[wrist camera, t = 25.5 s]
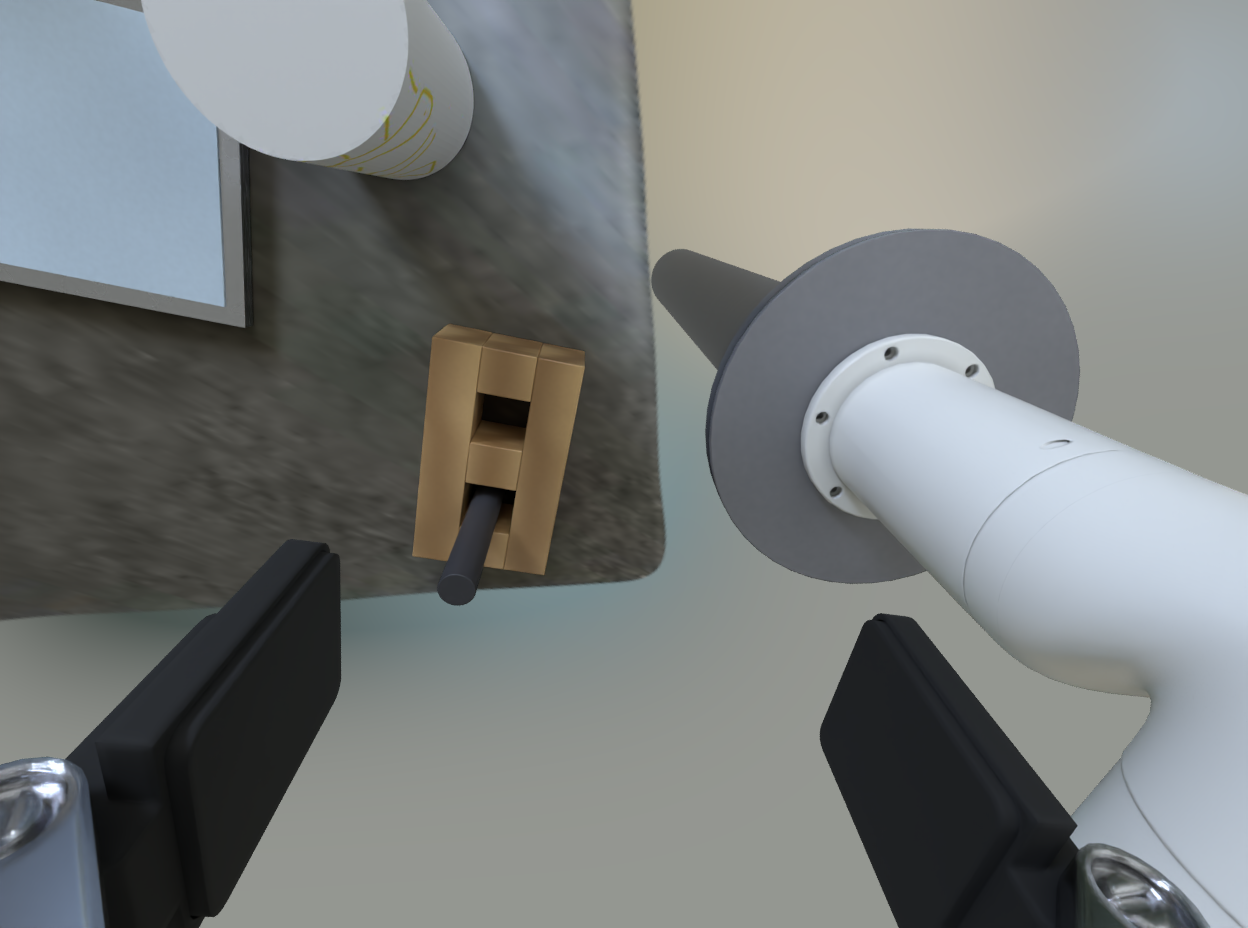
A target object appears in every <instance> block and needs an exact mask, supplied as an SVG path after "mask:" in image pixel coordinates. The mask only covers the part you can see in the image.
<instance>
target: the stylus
mask: <svg viewBox="0 0 1248 928" xmlns="http://www.w3.org/2000/svg"><path fill="white" fill-rule="evenodd" d="M505 490H506V489H501V488H495V487H489V486H483V485H478V486H477V488H476V491H475V493H474V496H473V498H472V501H471V503H470V506H469V508H468V511H467V513H466V516H465V518H464V521H463V523H462V526H461V528H460V531H459V533H458V536H457V538H456V541H455V543H454V546H453V548H452V551H451V553H450V556H449V558H448V561H447V563H446V566H445V568H444V571H443V573H442V576H441V578H440V581H439V583H438V587H437V590H438V594H439V596H440V597H441V599H443V600H444V601H445V602H447V603H449V604H451V605H464V604H467V603H468V602H470V601H471V600H472V599H473V598H474V596H475V593H476V590H477V587H478V584H479V580H480V577H481V573H482V570H483V566H484V563H485V560H486V556H487V553H488V549H489V546H490V542H491V539H492V536H493V532H494V529H495V525H496V522H497V518H498V515H499V512H500V508H501V505H502V501H503V498H504V494H505Z"/></svg>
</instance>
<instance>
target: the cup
mask: <svg viewBox="0 0 1248 928" xmlns="http://www.w3.org/2000/svg"><path fill="white" fill-rule="evenodd" d="M141 2H142V7H143V11H144V15H145V19H146V22H147V25H148V28H149V31H150V34H151V37H152V39H153V42H154V44H155V46H156V48H157V51H158V53H159V55H160V57H161V59H162V61H163V63H164V64H165V66H166V68H167V70H168V71H169V73H170V75H171V76H172V78H173V79H174V81H175V82H176V84H177V85H178V86H179V88H180V89H181V90H182V92H183V93H184V94H185V96H186V97H187V98H188V99H189V100H190V101H191V103H192V104H193V105H194V106H195V107H196V108H197V109H198V110H199V111H200V112H201V113H202V114H203V115H204V116H205V117H206V118H207V119H208V120H209V121H211V122H212V123H213V124H214V125H215V126H217V127H218V128H219V129H220V130H222V131H223V132H225V133H226V134H227V135H229V136H230V137H232V138H234V139H235V140H237V141H238V142H240V143H242V144H244V145H246V146H248V147H250V148H252V149H254V150H257V151H259V152H262V153H264V154H267V155H270V156H274V157H278V158H283V159H288V160H293V161H298V162H304V163H309V164H315V165H320V166H326V167H331V168H336V169H342V170H347V171H353V172H358V173H363V174H369V175H374V176H380V177H385V178H390V179H397V180H412V179H419V178H423V177H426V176H429V175H431V174H433V173H435V172H437V171H439V170H440V169H442V168H443V167H445V166H446V165H447V164H448V163H449V162H450V161H451V160H452V159H453V158H454V157H455V156H456V155H457V153H458V152H459V151H460V149H461V147H462V146H463V144H464V142H465V140H466V138H467V135H468V133H469V130H470V126H471V122H472V116H473V107H474V96H473V86H472V80H471V75H470V72H469V68H468V65H467V62H466V60H465V57H464V55H463V53H462V51H461V49H460V47H459V45H458V43H457V42H456V40H455V39H454V37H453V36H452V34H451V33H450V31H449V30H448V29H447V27H446V26H445V25H444V23H443V22H442V21H441V19H440V18H439V17H438V15H437V14H436V13H435V11H434V10H433V9H432V7H431V6H430V5H429V3H428V2H427V0H141Z"/></svg>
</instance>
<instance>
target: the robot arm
mask: <svg viewBox="0 0 1248 928" xmlns="http://www.w3.org/2000/svg"><path fill="white" fill-rule="evenodd" d="M887 349H888V352H887V353H886V354H885V351H886V350H887ZM819 413H821V415H820V416H819V417H818V418H816V417H817V415H818V414H819ZM801 454H802V459H803V464H804V467H805V470H806V472H807V474H808V476H809V478H810V480H811V482H812V483H813V484H814V486H815V487H816V488H817V490H818V491H819V492H820V493H821V494H822V495H823V497H824V498H825V499H826V500H827V501H828V502H829V503H831V504H833V505H834V506H836V507H837V508H839V509H840V510H842V511H844V512H846V513H849V514H852V515H854V516H857V517H862V518H868V519H878V520H879V521H880V522H881V523H882V524H883V525H884V526H885V527H886V528H887V529H888V530H889V531H890V532H891V533H892V534H893V535H894V536H895V538H896V539H897V540H898V541H899V542H900V543H901V544H902V545H903V546H904V547H905V548H906V549H907V550H908V551H909V552H910V553H911V554H912V555H913V556H914V558H915V559H916V560H917V561H918V562H919V563H920V564H921V565H922V566H923V567H924V568H925V569H926V570H927V571H928V572H929V573H930V574H931V575H932V576H933V577H934V578H935V580H936V581H937V582H938V583H939V584H940V585H941V586H942V587H943V588H944V589H945V590H946V591H947V592H948V593H949V594H950V595H951V596H952V597H953V599H954V600H955V601H956V602H957V603H958V604H959V605H960V606H961V607H962V608H963V609H964V610H965V611H966V612H967V613H968V614H969V615H970V616H971V617H972V618H973V619H974V620H975V621H976V622H977V623H978V624H979V625H980V626H981V627H982V628H983V629H984V630H985V631H986V632H987V633H988V634H989V636H990V637H991V638H993V640H994V641H995V642H996V643H997V644H998V645H1000V646H1001V647H1002V648H1003V649H1004V650H1005V651H1006V652H1008V653H1009V654H1010V655H1011V656H1012V657H1013V658H1015V659H1016V660H1018V661H1019V662H1021V663H1022V664H1023V665H1025V666H1027V667H1028V668H1030V669H1032V670H1034V671H1036V672H1038V673H1040V674H1042V675H1044V676H1046V677H1048V678H1050V679H1053V680H1055V681H1058V682H1062V683H1065V684H1068V685H1071V686H1075V687H1079V688H1083V689H1087V690H1093V691H1099V692H1105V693H1111V694H1119V695H1129V696H1140V697H1150V699H1151V707H1150V713H1149V715H1148V717H1147V720H1146V722H1145V723H1144V725H1143V726H1142V728H1141V729H1140V730H1139V732H1138V733H1137V734H1136V736H1135V737H1134V739H1133V740H1132V741H1131V742H1130V744H1129V745H1128V746H1127V747H1126V748H1125V750H1124V751H1123V753H1122V756H1121V758H1120V759H1119V761H1118V762H1117V763H1116V764H1115V765H1114V766H1113V767H1112V769H1111V770H1110V771H1109V772H1108V773H1107V774H1106V776H1105V777H1104V778H1103V779H1102V780H1101V781H1100V783H1099V784H1098V785H1097V786H1096V787H1095V788H1094V790H1093V791H1092V792H1091V793H1090V794H1089V796H1088V797H1087V798H1086V799H1085V800H1084V801H1083V802H1082V804H1081V805H1080V806H1079V807H1078V808H1077V810H1076V811H1075V812H1074V813H1073V814H1072V815H1071V816H1070V815H1069V814H1068V813H1067V812H1066V810H1065V809H1064V808H1063V806H1062V805H1061V804H1060V803H1059V801H1058V800H1057V799H1056V797H1054V795H1053V794H1052V793H1051V791H1050V790H1049V789H1048V788H1047V786H1046V785H1045V784H1044V782H1043V781H1042V780H1041V779H1040V777H1039V776H1038V775H1037V774H1036V772H1035V771H1034V770H1033V769H1032V767H1031V766H1030V765H1029V763H1027V761H1026V760H1025V759H1024V757H1023V756H1022V755H1021V754H1020V752H1019V751H1018V750H1017V748H1016V747H1015V746H1014V745H1013V743H1012V742H1011V741H1010V740H1009V738H1008V737H1007V736H1006V734H1005V733H1004V732H1003V731H1002V729H1001V728H1000V727H999V726H998V724H996V722H995V721H994V720H993V718H992V717H991V716H990V714H989V713H988V712H987V711H986V710H985V708H984V707H983V705H982V704H981V703H980V702H979V700H978V699H977V698H976V697H975V695H974V694H973V693H972V692H971V690H970V689H969V688H968V687H967V685H966V684H965V683H964V682H963V680H962V679H961V678H960V677H959V675H958V674H957V673H956V671H955V670H954V669H953V668H952V666H951V665H950V664H949V663H948V662H947V660H946V659H945V658H944V656H943V655H942V654H941V653H940V651H939V650H938V649H937V648H936V646H935V645H934V644H933V642H932V641H931V640H930V639H929V637H928V636H927V635H926V634H925V632H924V631H923V630H922V629H921V627H920V626H919V625H918V624H917V622H916V621H915V620H914V619H912V618H910V617H906V616H898V615H890V614H882V613H880V614H877V615H876V616H874V617H873V619H872V620H868V621H866V622H865V623H864V625H863V627H862V629H861V632H860V634H859V636H858V639H857V641H856V644H855V646H854V649H853V651H852V653H851V656H850V658H849V660H848V663H847V665H846V668H845V670H844V672H843V675H842V677H841V680H840V682H839V684H838V687H837V689H836V692H835V694H834V696H833V699H832V701H831V703H830V706H829V708H828V711H827V713H826V715H825V718H824V720H823V723H822V725H821V729H820V742H821V746H822V749H823V752H824V754H825V756H826V759H827V761H828V763H829V766H830V768H831V770H832V773H833V775H834V777H835V780H836V782H837V784H838V787H839V789H840V791H841V794H842V796H843V798H844V801H845V803H846V805H847V808H848V810H849V812H850V814H851V817H852V819H853V822H854V824H855V826H856V829H857V831H858V834H859V836H860V838H861V841H862V843H863V845H864V847H865V850H866V852H867V854H868V857H869V859H870V862H871V864H872V866H873V869H874V871H875V873H876V876H877V878H878V880H879V883H880V885H881V887H882V890H883V892H884V894H885V897H886V899H887V901H888V904H889V906H890V908H891V911H892V913H893V915H894V918H895V920H896V922H897V925H898V927H899V928H1248V495H1246V494H1244V493H1241V492H1239V491H1236V490H1234V489H1231V488H1229V487H1226V486H1224V485H1221V484H1218V483H1216V482H1213V481H1211V480H1208V479H1206V478H1204V477H1201V476H1199V475H1196V474H1194V473H1192V472H1189V471H1187V470H1184V469H1182V468H1180V467H1177V466H1175V465H1173V464H1170V463H1168V462H1166V461H1163V460H1161V459H1159V458H1156V457H1154V456H1151V455H1148V454H1146V453H1144V452H1141V451H1139V450H1137V449H1134V448H1132V447H1130V446H1127V445H1125V444H1123V443H1120V442H1118V441H1116V440H1113V439H1111V438H1109V437H1106V436H1104V435H1102V434H1099V433H1097V432H1095V431H1092V430H1090V429H1088V428H1085V427H1083V426H1081V425H1078V424H1076V423H1074V422H1071V421H1069V420H1067V419H1064V418H1062V417H1060V416H1057V415H1055V414H1053V413H1050V412H1048V411H1046V410H1043V409H1041V408H1038V407H1036V406H1034V405H1031V404H1029V403H1027V402H1024V401H1022V400H1020V399H1017V398H1015V397H1013V396H1010V395H1008V394H1006V393H1003V392H1001V391H999V390H996V389H995V386H994V383H993V379H992V377H991V376H990V374H989V372H988V370H987V368H986V367H985V365H984V364H983V363H982V362H981V361H980V360H979V359H978V358H977V357H976V355H975V354H974V353H972V352H971V351H969V350H968V349H966V348H965V347H963V346H961V345H960V344H958V343H955V342H953V341H950V340H948V339H945V338H942V337H937V336H933V335H928V334H902V335H896V336H891V337H886V338H884V339H881V340H878V341H876V342H873V343H870V344H868V345H866V346H864V347H863V348H861V349H859V350H858V351H856V352H854V353H852V354H851V355H849V356H848V357H847V358H846V359H845V360H843V361H842V362H841V363H840V364H838V365H837V366H836V367H835V368H834V369H833V370H832V371H831V372H830V374H829V375H828V376H827V377H826V378H825V379H824V380H823V381H822V383H821V384H820V386H819V388H818V389H817V391H816V392H815V394H814V396H813V397H812V399H811V401H810V404H809V406H808V409H807V411H806V413H805V416H804V420H803V425H802V430H801ZM832 488H833V489H832ZM340 682H341V612H340V558H339V555H338V554H335V553H330V549H329V546H328V545H327V544H326V543H318V542H310V541H302V540H294V539H290V540H287V541H286V542H285V543H284V544H283V545H282V546H281V547H280V548H279V549H278V550H277V551H276V552H275V553H274V554H273V555H272V556H271V557H270V558H269V559H268V560H267V562H266V563H265V564H264V565H263V566H262V567H261V568H260V569H259V570H258V571H257V572H256V573H255V574H254V575H253V576H252V577H251V578H250V579H249V580H248V581H247V582H246V584H245V585H244V586H243V587H242V588H241V589H240V590H239V591H238V592H237V593H236V594H235V595H234V596H233V597H232V598H231V599H230V600H229V601H228V602H227V603H226V605H225V606H224V607H223V608H222V609H221V610H220V611H219V612H218V613H217V614H212V615H209V616H206V617H205V618H204V619H203V620H201V621H200V622H199V623H198V624H197V625H196V626H195V627H194V628H193V629H192V630H191V631H190V632H189V633H188V634H187V635H186V636H185V637H184V638H183V639H182V640H181V641H180V642H179V643H178V644H177V645H176V646H175V647H174V648H173V649H172V651H171V652H169V654H168V655H167V656H166V657H165V658H164V659H163V660H162V661H161V662H160V663H159V664H158V665H157V666H156V667H155V668H154V669H153V670H152V671H151V672H150V673H149V674H148V675H147V676H146V677H145V678H144V679H143V680H142V681H141V682H140V683H139V684H138V685H137V686H136V687H135V688H134V689H133V690H132V691H131V692H130V693H129V695H127V697H126V698H125V699H124V700H123V701H122V702H121V703H120V704H119V705H118V706H117V707H116V708H115V709H114V710H113V711H112V712H111V713H110V714H109V715H108V716H107V717H106V718H105V719H104V720H103V721H102V722H101V723H100V724H99V725H98V726H97V727H96V728H95V729H94V730H93V731H92V732H91V733H90V734H89V735H88V737H86V738H85V739H84V741H83V742H82V743H81V744H80V745H79V746H78V747H77V748H76V749H75V750H74V751H73V752H72V753H71V754H70V755H69V756H68V757H67V758H66V759H65V760H64V759H58V758H52V757H40V758H28V759H20V760H17V761H13V762H9V763H5V764H1V765H0V928H199V926H200V925H201V923H202V921H203V919H204V917H215V916H216V915H218V913H219V912H220V911H221V910H222V909H223V907H224V905H225V904H226V902H227V900H228V899H229V897H230V895H231V893H232V891H233V889H234V887H235V885H236V884H237V882H238V880H239V878H240V876H241V874H242V873H243V871H244V869H245V867H246V865H247V863H248V861H249V859H250V858H251V856H252V854H253V852H254V850H255V848H256V846H257V845H258V843H259V841H260V839H261V837H262V835H263V833H264V832H265V830H266V828H267V826H268V824H269V822H270V820H271V819H272V817H273V815H274V813H275V811H276V809H277V807H278V805H279V804H280V802H281V800H282V798H283V796H284V794H285V793H286V791H287V789H288V787H289V785H290V783H291V781H292V780H293V778H294V776H295V774H296V772H297V770H298V768H299V767H300V765H301V763H302V761H303V759H304V757H305V755H306V753H307V752H308V750H309V748H310V746H311V744H312V742H313V740H314V739H315V737H316V735H317V733H318V731H319V729H320V727H321V726H322V724H323V722H324V720H325V718H326V716H327V714H328V713H329V710H330V709H331V707H332V705H333V703H334V701H335V699H336V697H337V694H338V691H339V687H340Z"/></svg>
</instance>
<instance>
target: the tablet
mask: <svg viewBox="0 0 1248 928" xmlns="http://www.w3.org/2000/svg"><path fill="white" fill-rule="evenodd" d="M0 281H4V282H9V283H15V284H20V285H25V286H30V287H35V288H40V289H46V290H51V291H56V292H61V293H66V294H72V295H77V296H82V297H87V298H92V299H97V300H103V301H108V302H113V303H118V304H123V305H129V306H134V307H139V308H144V309H149V310H154V311H160V312H165V313H170V314H175V315H180V316H185V317H191V318H196V319H201V320H206V321H211V322H217V323H222V324H227V325H232V326H237V327H242V328H246V327H249V326H252V325H253V300H252V264H251V227H250V191H249V155H248V146H246V145H244V144H242V143H240V142H238V141H237V140H235V139H234V138H232V137H230V136H229V135H227V134H226V133H225V132H223V131H222V130H220V129H219V128H218V127H217V126H215V125H214V124H213V123H212V122H211V121H209V120H208V119H207V118H206V117H205V116H204V115H203V114H202V113H201V112H200V111H199V110H198V109H197V108H196V107H195V106H194V105H193V104H192V103H191V101H190V100H189V99H188V98H187V97H186V96H185V94H184V93H183V92H182V90H181V89H180V88H179V86H178V85H177V84H176V82H175V81H174V79H173V78H172V76H171V75H170V73H169V71H168V70H167V68H166V66H165V64H164V63H163V61H162V59H161V57H160V55H159V53H158V51H157V48H156V46H155V44H154V42H153V39H152V37H151V34H150V31H149V28H148V25H147V22H146V19H145V15H144V11H143V7H142V2H141V0H0Z"/></svg>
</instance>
